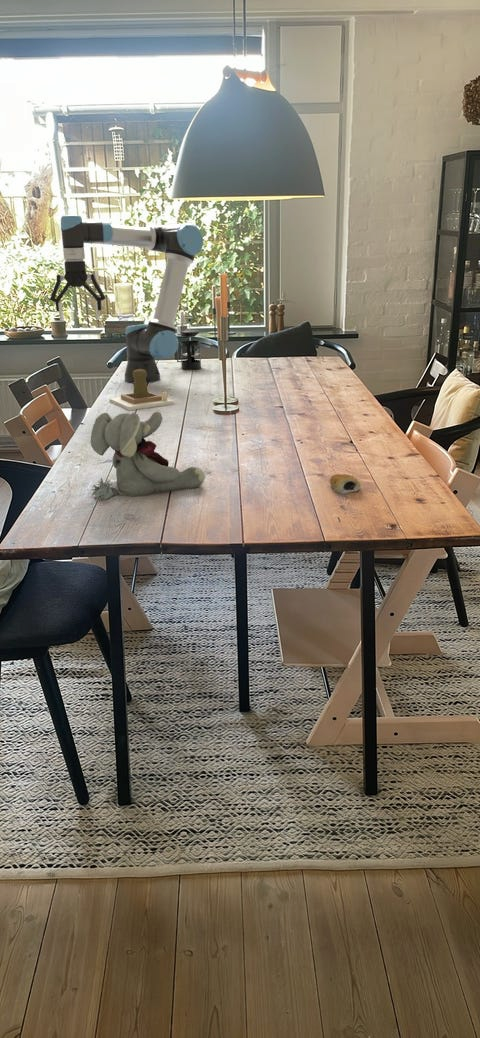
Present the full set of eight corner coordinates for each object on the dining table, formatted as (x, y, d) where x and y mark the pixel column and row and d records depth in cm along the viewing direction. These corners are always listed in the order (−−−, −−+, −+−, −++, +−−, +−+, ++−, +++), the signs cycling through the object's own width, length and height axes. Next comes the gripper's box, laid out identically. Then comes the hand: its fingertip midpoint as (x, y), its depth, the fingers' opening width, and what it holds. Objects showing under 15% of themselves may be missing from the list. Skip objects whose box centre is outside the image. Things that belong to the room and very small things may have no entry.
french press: (204, 366, 358) (202, 315, 349) (201, 370, 349) (199, 318, 341) (179, 366, 359) (177, 316, 351) (175, 370, 350) (173, 318, 342)
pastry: (323, 483, 192) (323, 469, 191) (348, 481, 194) (349, 467, 192) (337, 495, 183) (337, 480, 182) (363, 492, 185) (364, 477, 184)
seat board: (153, 395, 296) (152, 385, 295) (174, 404, 282) (173, 392, 280) (109, 401, 288) (108, 390, 286) (129, 410, 273) (128, 398, 272)
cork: (151, 397, 287) (149, 368, 284) (147, 401, 282) (145, 371, 278) (135, 397, 288) (133, 368, 284) (131, 401, 282) (129, 371, 279)
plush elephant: (158, 468, 207) (153, 391, 199) (209, 487, 191) (206, 404, 184) (69, 490, 191) (60, 407, 183) (116, 512, 175) (109, 423, 167)
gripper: (38, 261, 278) (44, 321, 285) (107, 260, 278) (111, 320, 286) (42, 260, 285) (48, 319, 292) (110, 259, 285) (114, 318, 293)
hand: (79, 320), depth 289 cm, fingers open, 13 cm apart
